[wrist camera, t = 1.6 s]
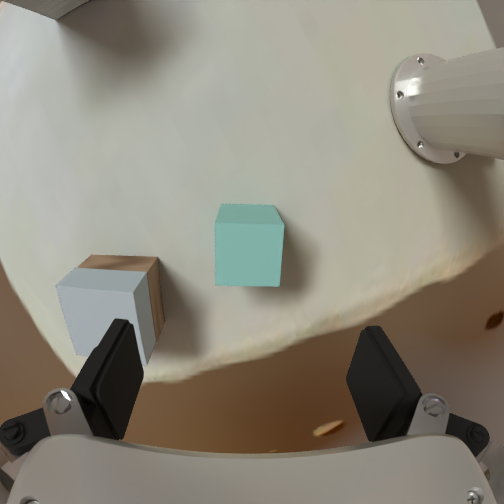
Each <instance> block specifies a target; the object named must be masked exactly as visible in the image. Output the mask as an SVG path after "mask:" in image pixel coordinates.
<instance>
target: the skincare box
mask: <svg viewBox="0 0 504 504" xmlns="http://www.w3.org/2000/svg"><path fill="white" fill-rule="evenodd" d="M1 1H4V2H8V3H10V4H13V5H16V6H19V7H22V8H25V9H28V10H31V11H33V12H36V13H39V14H41V15H44V16H46V17H49V18H51V19H54V20H57V19H59V18H60V17H62V16H63V15H65V14H67V13H68V12H70V11H72V10H73V9H75V8H77V7H79V6H80V5H82V4H84V3H86V2H88V1H89V0H1Z"/></svg>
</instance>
